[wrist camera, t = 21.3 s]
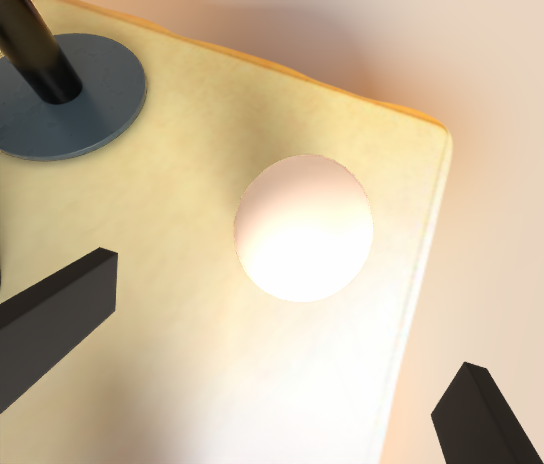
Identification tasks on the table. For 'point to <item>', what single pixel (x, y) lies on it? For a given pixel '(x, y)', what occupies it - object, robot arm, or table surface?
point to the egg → (303, 228)
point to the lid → (62, 88)
